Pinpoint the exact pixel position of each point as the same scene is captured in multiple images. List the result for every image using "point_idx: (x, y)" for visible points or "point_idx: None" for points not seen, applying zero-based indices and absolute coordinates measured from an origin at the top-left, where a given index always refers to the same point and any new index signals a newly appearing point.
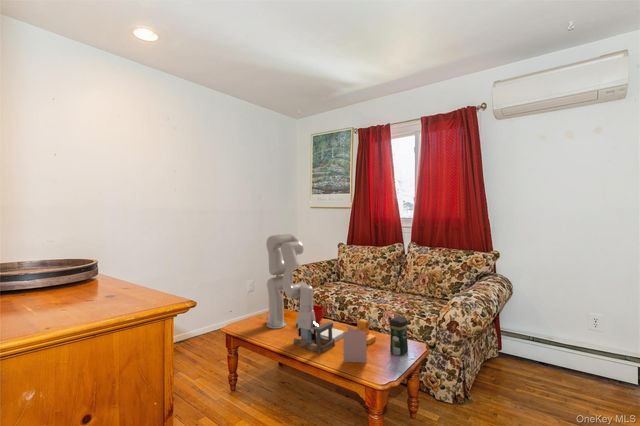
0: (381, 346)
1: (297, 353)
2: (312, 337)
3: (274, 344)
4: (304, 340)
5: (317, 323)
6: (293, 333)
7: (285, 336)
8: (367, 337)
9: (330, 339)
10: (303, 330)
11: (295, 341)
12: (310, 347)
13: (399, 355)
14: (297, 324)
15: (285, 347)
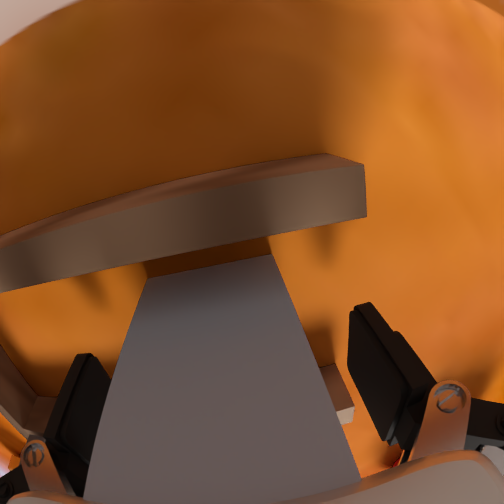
0: (4, 460)
1: (46, 38)
2: (65, 389)
3: (459, 19)
4: (200, 298)
5: (395, 465)
6: (474, 320)
7: (500, 233)
8: None
9: (28, 437)
10: (233, 454)
11: (299, 165)
12: (7, 237)
13: None
14: (502, 442)
15: (318, 8)
